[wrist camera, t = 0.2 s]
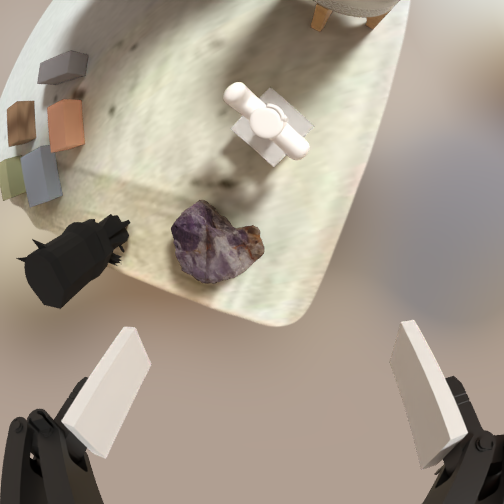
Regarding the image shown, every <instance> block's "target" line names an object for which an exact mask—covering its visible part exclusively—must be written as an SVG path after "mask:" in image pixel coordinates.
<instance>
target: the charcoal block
mask: <svg viewBox="0 0 504 504" xmlns="http://www.w3.org/2000/svg"><path fill="white" fill-rule="evenodd" d="M87 61H88V55H86V54H82V53H79V52H75V51H68V52H66V53H63V54H61V55H58V56H56V57H53V58H51V59H49V60H46V61H44V62H42V63H40V69H39V75H38V82H37V84H50V85H56V84H59V83H62V82H65V81H69V80H72V79H75V78H79V77H83V76H85V74H86V67H87Z"/></svg>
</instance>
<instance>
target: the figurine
mask: <svg viewBox="0 0 504 504" xmlns="http://www.w3.org/2000/svg"><path fill="white" fill-rule="evenodd" d="M223 99H224V101H225V102H226V103H227V104H228V105H230V106H231V107H232V108H234V109H235V110H236V111H238V112H239V113H240V114H242V116H241V117H240V119H239V120H238V121H237V122H236V123H235V124H234V125H233V126H232V127H231V128H230V129H231V130H232V131H233V132H235V133H236V134H237V135H238V136H239V137H240V138H242V139H243V140H244V141H245V142H246V143H247V144H248V145H250V146H251V147H252V148H253V149H254V150H255V151H256V152H258V153H259V154H260V155H261V156H262V157H263V158H264V159H265V160H266V161H268V162H269V163H270V164H271V165H272V166H273V167H275V166H276V165H277V164H278V163H279V162H280V161H281V160H282V159H283V158H284V157H285V156H286V155H288V156H289V157H290V158H291V159H293V160H300V159H302V158H304V157H305V156H306V155H307V153H308V152H309V149H310V147H309V144H308V142H307V141H306V140H305V139H304V137H305V136H306V135H307V134H308V133H309V132H310V131H311V130H312V129H313V128H314V127H315V126H314V125H313V124H312V123H311V122H310V121H308V120H307V119H306V118H305V117H304V116H303V115H302V114H301V113H300V112H299V111H298V110H296V109H295V108H294V107H293V106H292V105H291V104H290V103H289V102H287V101H286V100H285V99H284V98H283V97H282V96H280V95H279V94H278V93H277V92H276V91H275V90H273V89H272V88H271V87H270V88H269V89H268V90H267V91H266V92H265V93H264V94H263V95H262V96H261V97H260V98H257V97H256V96H255V95H254V94H253V93H252V92H251V91H250V90H249V89H248V88H247V87H246V86H245V85H244V84H243V83H241V82H236V83H233V84H231V85H230V86H229V87H228V88H227V89H226V90H225V92H224V95H223Z"/></svg>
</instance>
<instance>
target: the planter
mask: <svg viewBox="0 0 504 504" xmlns="http://www.w3.org/2000/svg"><path fill="white" fill-rule="evenodd" d="M313 1H315V2H316V3H317V4H316V8H315V11H314V15H313V19H312V23H311V28H313V29H315V30H317V31H319V32H320V31H321V30H322V29H323V28H324V26H325V24H326V22H327V20H328V18H329V17H330V15H331V13H332V12H333V11H335V12H338V13H341V14H344V15H349V16H354V17H366V18H367V23H366V25H367V26H368V27H370V28H371V29H374V28H375V27H376V26H377V25H378V23H379V22H380V21H381V20H382V19H383V18H384V17H385V16H386V15H387V14H388V13H389V12H390V11H391V9H392V8H393V7H394V6H395V5H396V4H397V3H398V2H399V1H400V0H313Z"/></svg>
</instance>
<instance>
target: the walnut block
mask: <svg viewBox="0 0 504 504" xmlns="http://www.w3.org/2000/svg"><path fill="white" fill-rule="evenodd" d="M7 128H8V144H9V147H11V146H15V145H20V144H25V143H27V142H29V141H31V140H33V139H35V138H36V129H35V109H34V101H17V102H16V103H14V104H13V105H12V106H10V107H9V108H8V109H7Z"/></svg>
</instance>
